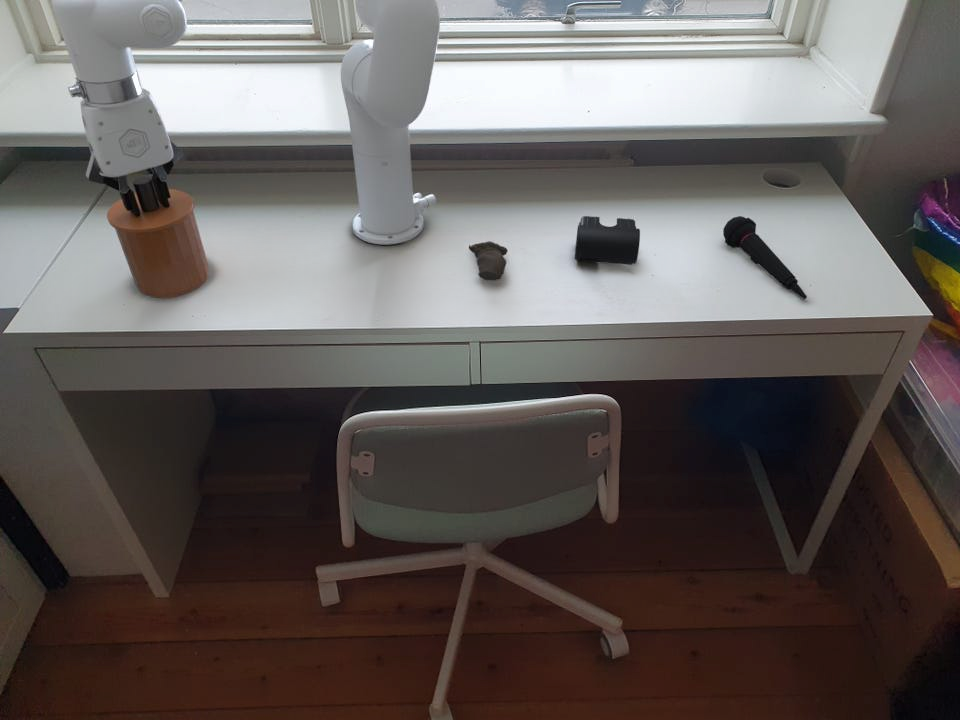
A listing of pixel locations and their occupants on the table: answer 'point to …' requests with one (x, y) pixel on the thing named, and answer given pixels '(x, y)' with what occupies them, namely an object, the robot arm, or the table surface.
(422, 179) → the table surface
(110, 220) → the lid
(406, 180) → the robot arm
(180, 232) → the canister
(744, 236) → the microphone
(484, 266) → the figurine
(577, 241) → the end cap
